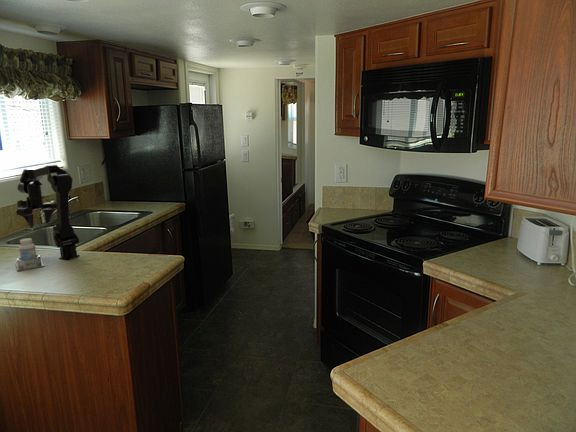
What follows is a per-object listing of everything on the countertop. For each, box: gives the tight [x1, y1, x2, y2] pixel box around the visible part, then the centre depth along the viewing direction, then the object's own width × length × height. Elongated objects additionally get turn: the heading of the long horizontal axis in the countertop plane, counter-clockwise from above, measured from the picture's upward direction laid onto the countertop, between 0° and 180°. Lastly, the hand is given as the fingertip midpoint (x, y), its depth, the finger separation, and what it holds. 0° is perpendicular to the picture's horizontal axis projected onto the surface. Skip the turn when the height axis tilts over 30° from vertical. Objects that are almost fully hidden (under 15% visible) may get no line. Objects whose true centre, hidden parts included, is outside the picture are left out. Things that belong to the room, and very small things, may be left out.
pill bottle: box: [18, 237, 37, 260], centre depth 190 cm, size 6×6×11 cm
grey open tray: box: [15, 253, 45, 272], centre depth 191 cm, size 14×10×4 cm
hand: (39, 225), depth 210 cm, fingers open, 9 cm apart
